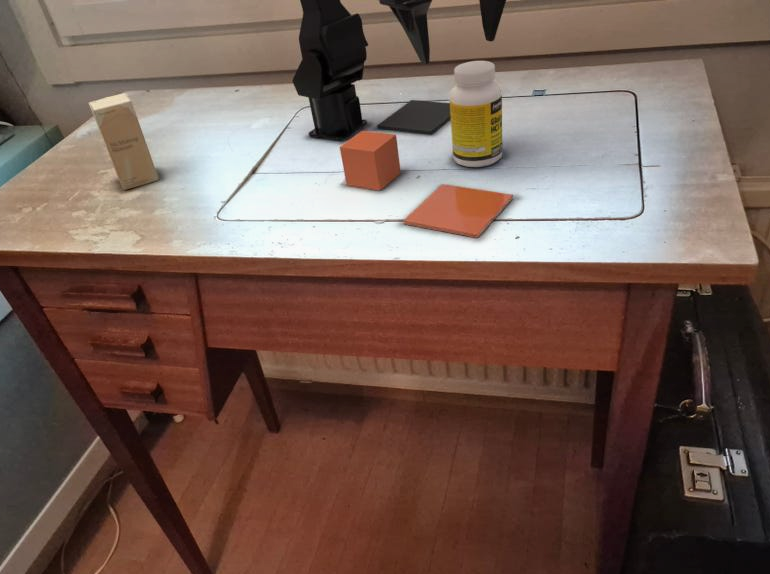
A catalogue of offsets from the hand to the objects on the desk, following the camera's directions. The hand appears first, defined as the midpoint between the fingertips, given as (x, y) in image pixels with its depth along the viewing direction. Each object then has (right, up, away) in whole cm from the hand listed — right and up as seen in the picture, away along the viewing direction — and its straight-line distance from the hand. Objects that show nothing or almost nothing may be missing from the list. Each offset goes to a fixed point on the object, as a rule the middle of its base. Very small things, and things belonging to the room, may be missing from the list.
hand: (458, 51), depth 74 cm
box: (-43, -10, +18) cm, 47 cm away
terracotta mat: (0, -18, -1) cm, 18 cm away
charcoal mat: (-3, 0, +21) cm, 22 cm away
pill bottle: (+4, -9, +9) cm, 13 cm away
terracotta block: (-10, -12, +8) cm, 18 cm away
